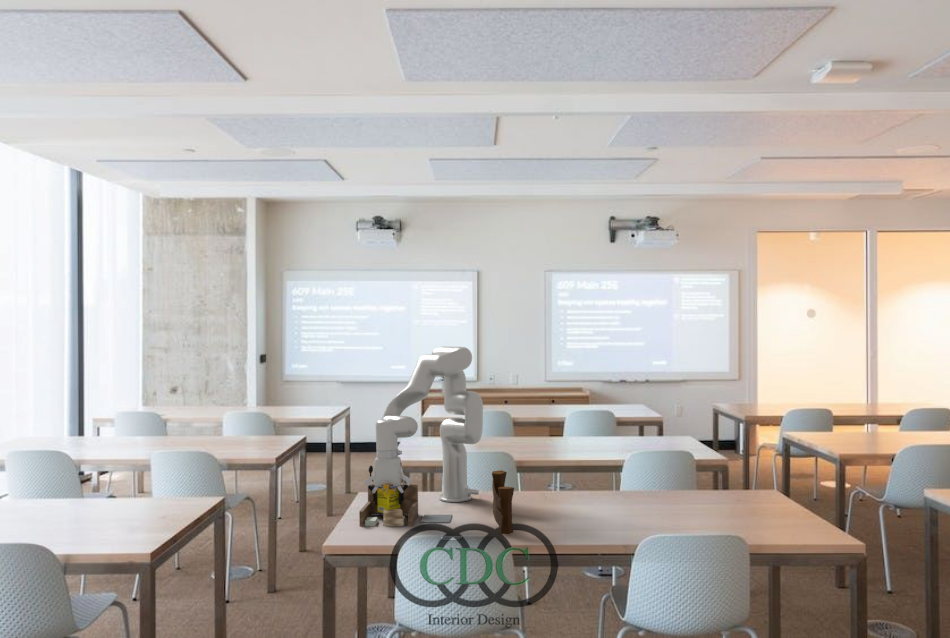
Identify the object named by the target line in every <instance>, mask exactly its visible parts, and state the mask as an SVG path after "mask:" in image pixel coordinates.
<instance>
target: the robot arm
mask: <svg viewBox="0 0 950 638" xmlns="http://www.w3.org/2000/svg"><path fill="white" fill-rule="evenodd" d="M472 361H473V354H472V352H471V350H470V349H469V348H467V347H466V346H439V347H436V348H434V349H433V350H432V352H431V354H429V353H428V354H422V355H421V356H419V358H418V359H417V361H416V364H415V366H414V368H413V370H412V374H411V375H410V377H409V380H408V382H407V384H406V386H405V387H404V389H402V390H401V391H400V392H399V393H397V395H395V396H394V397H393V398H392V399H391V401H390V402H389V403H388V404H387V406H386V408H385V411H384V413H383V415H382V418H381V419H378V420H377V421H376V422H375V443H376V445H375V446H376V447H375V448H376V457H375V458H374V462H373V471H372V474H371V477H370V476H369V477H368V478H367V479H365V480H364V484H365V485H366V487H367V489H368V488H369V489H370V490H371V491H372V493H373V501H374V502H375V505H377V489H378V487H381V485H382V484H393V486H394V487H397V488H398V489H399V491H400V492H399V504H402V501H404V491H405V490H406V489H407V488H408V486H409V485H410V484H412V481H413V480H412V479H411V478H410V477H408V476H407V475H405V474H404V471H403V465H402V459H401V457H400V455H403V451H402V450H400V449H399V447H398V446H399V444H398V443H399V441H398V439H399V438H402V439H403V438H404V439H405V438H411V437H413V436H414V435H415V434H416V433H417V431H418V425H419V424H418V422H417V421H416V419H415V418H413V417H411V416H406V415H405V416H404V415H402V413H403V412H404V411H405V410H406V409H407V408H408V407H410V406H412V405H414V404H417V403H418V402H421V401H423V400H424V399H426V398H427V397H428V394H429V393H430V391H431V388H432V385H433V383H434V381H435V378H436V377H437V378H443V379H444V382H443V383H444V392H443V393H444V395H443V396H444V397H443V399H444V402H443V405H444V406H443V408H444V411H445V412H446V413H448V414H449V415H450V414H451V415H456V416H457V415H458V416H464V418H461V417H460V418H459V417H449V418H446V419H444V420H443V421H442V422H441V423H440V425H439V436H440V440H441V447H442V448H441V449H442V494H440V495H439V498H438V499H439V500H440V501H443V502H447V503H461V502H462V503H464V502H467V501H469V500H472V495H479V491H480V490H479V489H477V488H469V487H470V486H469V485H468V454H467V449H466V446H465V445H476V444H477V443H479V442H480V441H481V439H482V437H483V430H484V429H483V424H484V420H483V419H484V403H483V400H482V397H481V395H480V394H479V393H478V392H477V391H472V390H467V380H466V379H467V378H466V374H465V372H464V371H465V370H466V369H467V368H469V367H470V365H471V364H472ZM372 480H373V481H372ZM371 481H372V483H371ZM404 481H405V482H406V483H405V484H406V485H405V486H404V487H403V486H402V484H404ZM371 484H374V486H375V487H373V486H372V485H371Z"/></svg>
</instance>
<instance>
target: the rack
mask: <svg viewBox="0 0 950 638" xmlns="http://www.w3.org/2000/svg"><path fill="white" fill-rule="evenodd" d="M370 484H371V485H372V486H373V487H375V486H374V483H370ZM401 484H402V486H403V487H404V486H405V485H406V483H401ZM400 509H401V510H402V516H408V517H407V519H408V522H407V523H408V525H407V526H408V527H413V525H414V523H415V521H416V519H417V517H418V516H419V484H418V483H410V485H409V486H408V488H407V489H406V490H405V491H404V501H402V504H400ZM358 513H359V517H358V518H359V527H364V526H365V520H366V519H367V518H368V517H372V516H382V515H381V514H378V508H377V505H375V502H374V501H373V493H372V491H371V490H370V489H369V488H368V487H367V502H366V503H365V504H364V505H363V507H362V508H361V509H360V510H359V512H358Z"/></svg>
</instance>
